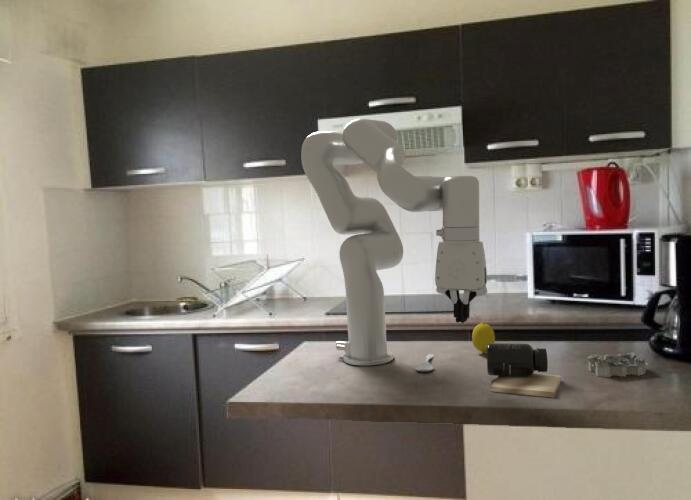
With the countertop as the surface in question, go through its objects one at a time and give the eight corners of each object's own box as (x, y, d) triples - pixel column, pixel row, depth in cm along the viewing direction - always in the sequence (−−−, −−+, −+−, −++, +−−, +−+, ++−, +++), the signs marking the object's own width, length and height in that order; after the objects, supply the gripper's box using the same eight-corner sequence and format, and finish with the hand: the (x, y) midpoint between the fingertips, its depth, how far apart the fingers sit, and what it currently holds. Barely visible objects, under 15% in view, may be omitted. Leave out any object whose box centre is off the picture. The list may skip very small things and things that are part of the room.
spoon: (413, 376, 126) (413, 369, 125) (424, 352, 145) (424, 346, 145) (432, 376, 124) (431, 369, 124) (440, 352, 144) (440, 346, 144)
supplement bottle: (487, 373, 114) (549, 374, 111) (486, 340, 116) (546, 340, 113) (487, 377, 120) (546, 378, 117) (486, 346, 123) (543, 346, 120)
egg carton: (597, 379, 116) (597, 360, 116) (585, 369, 123) (584, 350, 123) (650, 377, 115) (650, 357, 115) (634, 367, 122) (634, 348, 122)
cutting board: (490, 391, 111) (490, 386, 111) (502, 375, 121) (502, 371, 121) (554, 397, 106) (554, 392, 106) (561, 380, 115) (561, 375, 115)
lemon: (477, 349, 143) (476, 319, 143) (498, 352, 140) (497, 320, 140) (469, 355, 139) (467, 323, 138) (490, 357, 136) (489, 325, 135)
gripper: (421, 236, 116) (422, 322, 118) (493, 237, 110) (493, 328, 111) (432, 233, 123) (433, 315, 125) (501, 234, 116) (501, 320, 118)
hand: (461, 321), depth 118 cm, fingers closed
